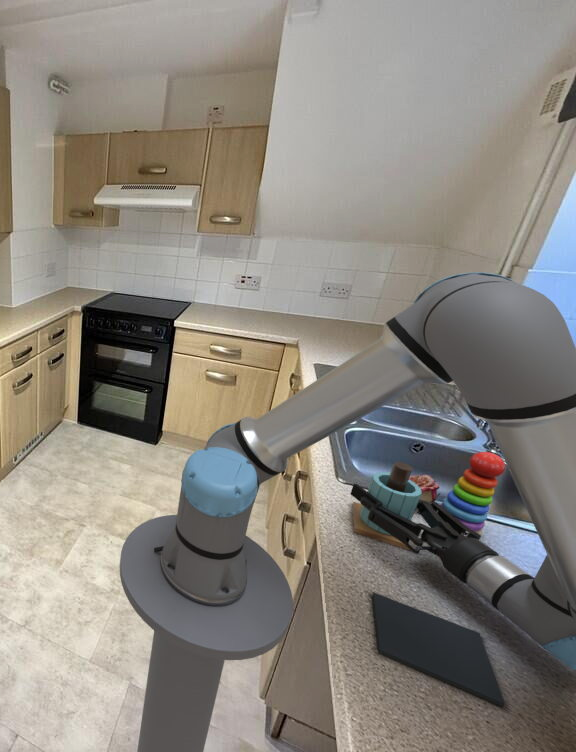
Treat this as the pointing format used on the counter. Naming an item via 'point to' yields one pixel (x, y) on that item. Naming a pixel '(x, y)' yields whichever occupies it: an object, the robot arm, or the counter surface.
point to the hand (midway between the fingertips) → (371, 487)
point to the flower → (426, 487)
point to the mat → (435, 647)
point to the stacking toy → (475, 491)
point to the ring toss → (395, 482)
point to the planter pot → (391, 498)
